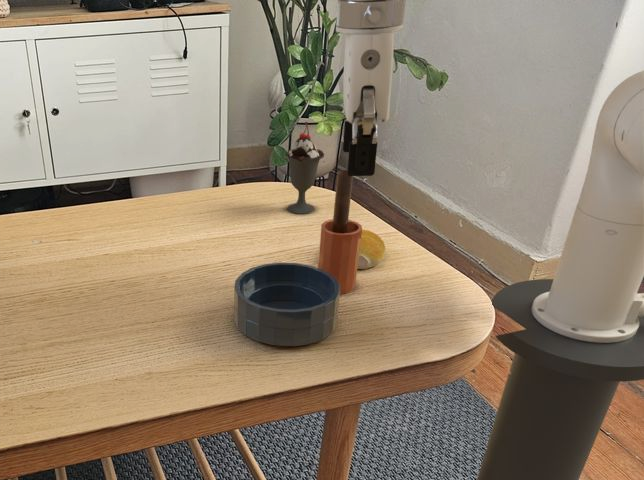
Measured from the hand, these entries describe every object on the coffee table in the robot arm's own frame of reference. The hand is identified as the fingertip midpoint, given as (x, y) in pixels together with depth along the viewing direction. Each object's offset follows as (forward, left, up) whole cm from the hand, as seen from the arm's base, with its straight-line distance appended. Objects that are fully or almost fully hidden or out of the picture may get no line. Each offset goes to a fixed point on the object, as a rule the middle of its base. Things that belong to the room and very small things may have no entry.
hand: (357, 162), depth 84 cm
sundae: (+6, -28, -18) cm, 34 cm away
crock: (+1, +1, -18) cm, 18 cm away
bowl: (+8, +12, -18) cm, 23 cm away
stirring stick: (+1, +1, -17) cm, 17 cm away
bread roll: (-2, -8, -18) cm, 20 cm away
